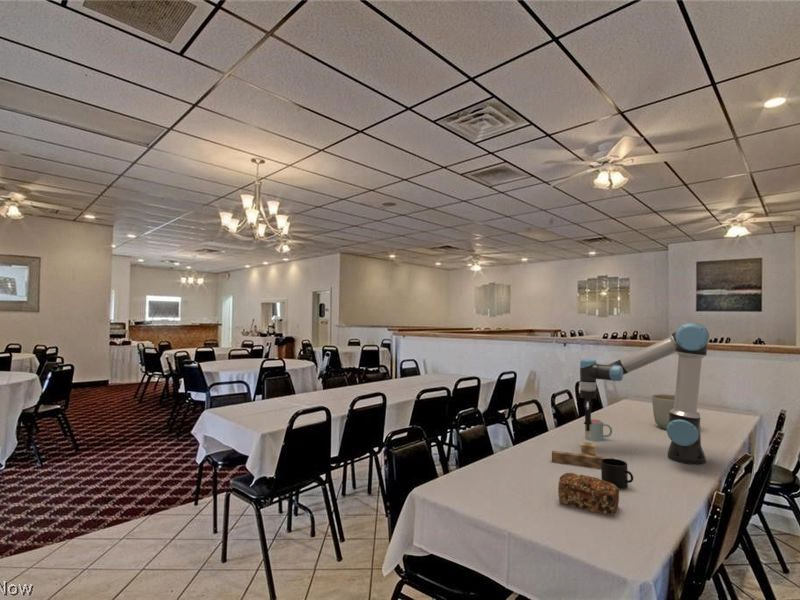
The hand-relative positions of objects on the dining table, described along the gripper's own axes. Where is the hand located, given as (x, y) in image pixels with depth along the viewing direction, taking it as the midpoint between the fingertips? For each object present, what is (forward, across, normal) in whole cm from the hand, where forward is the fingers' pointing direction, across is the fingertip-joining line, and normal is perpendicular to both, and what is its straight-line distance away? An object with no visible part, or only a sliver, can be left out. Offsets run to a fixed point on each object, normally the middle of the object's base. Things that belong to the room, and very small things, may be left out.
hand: (588, 436), depth 219 cm
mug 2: (+7, +45, +12) cm, 47 cm away
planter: (+7, -69, +44) cm, 82 cm away
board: (+7, +25, -2) cm, 26 cm away
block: (+7, +10, 0) cm, 12 cm away
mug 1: (+7, -24, +5) cm, 25 cm away
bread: (+7, +70, +3) cm, 70 cm away
